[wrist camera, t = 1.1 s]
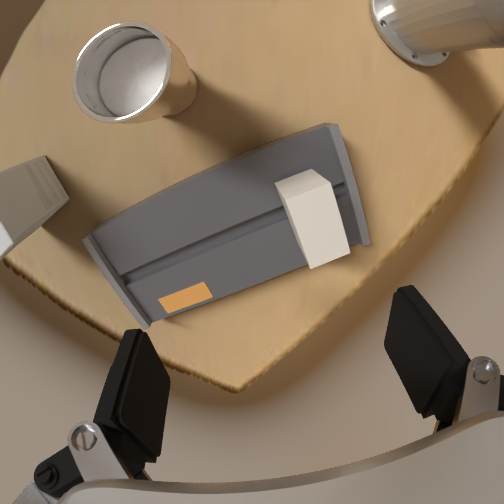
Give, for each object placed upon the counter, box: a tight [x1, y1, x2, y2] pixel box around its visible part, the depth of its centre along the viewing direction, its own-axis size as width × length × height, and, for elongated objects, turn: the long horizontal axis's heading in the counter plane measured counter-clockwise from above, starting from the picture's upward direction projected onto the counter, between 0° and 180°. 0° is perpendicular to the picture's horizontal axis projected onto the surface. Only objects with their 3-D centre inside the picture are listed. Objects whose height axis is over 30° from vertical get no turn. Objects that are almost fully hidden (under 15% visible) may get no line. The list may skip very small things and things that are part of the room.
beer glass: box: [72, 21, 198, 124], centre depth 19 cm, size 7×7×15 cm
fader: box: [275, 169, 350, 269], centre depth 27 cm, size 4×7×7 cm, turn 22°
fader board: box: [82, 123, 370, 329], centre depth 32 cm, size 30×14×4 cm, turn 112°
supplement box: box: [0, 155, 70, 260], centre depth 24 cm, size 7×7×13 cm
